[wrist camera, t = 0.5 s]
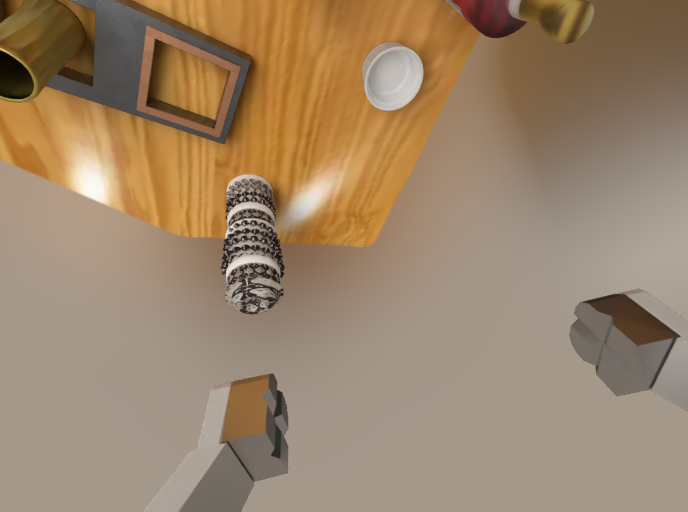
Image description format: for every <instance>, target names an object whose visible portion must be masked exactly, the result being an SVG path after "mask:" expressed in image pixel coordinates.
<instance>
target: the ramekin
mask: <svg viewBox="0 0 688 512" xmlns="http://www.w3.org/2000/svg"><path fill="white" fill-rule="evenodd" d="M361 74H362V82H363V85H364V88H365V93H366V96H367V98H368V100H369V102H370V103H371V104H372V105H373V106H374V107H376V108H378V109H380V110H384V111H392V110H397V109H400V108H402V107H404V106H405V105H407V104H408V103H409V102H410V101H411V100H412V99H413V98H414V97H415V96H416V95H417V93H418V91H419V89H420V87H421V84H422V81H423V74H424V71H423V64H422V61H421V59H420V57H419V56H418V55H417V53H415V52H414V51H413V50H412V49H410V48H407V47H405V46H404V45H402V44H400V43H397V42H392V41H391V42H384V43H381V44H379V45H377V46H376V47H375V48H373V49H372V50H371V51H370V52H369V54H368V55H367V56H366V58H365V60H364V63H363V66H362V73H361Z"/></svg>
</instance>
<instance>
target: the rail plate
mask: <svg viewBox="0 0 688 512" xmlns="http://www.w3.org/2000/svg"><path fill="white" fill-rule="evenodd" d="M70 1H72V2H74V3H76V4H79V5H81V6H83V7H86V8H88V9H90V10H93V11H95V12H96V16H95V44H94V73H93V77H91V76H88V75H86V74H83V73H80V72H77V71H74V70H71V69H69V68H66V67H62V69H61V70H60V71H59V72H58V73H57V74H56V75H55V76H54V77H53V78H52V79H51V80H50V81H49V82H48V84H47V85H46V86H47V87H50V88H54V89H57V90H60V91H63V92H66V93H69V94H72V95H75V96H78V97H81V98H84V99H87V100H90V101H93V102H96V103H99V104H102V105H106V106H109V107H112V108H115V109H118V110H121V111H124V112H127V113H130V114H133V115H136V116H139V117H142V118H145V119H148V120H151V121H154V122H158V123H161V124H164V125H167V126H170V127H173V128H176V129H179V130H182V131H185V132H188V133H191V134H194V135H197V136H200V137H203V138H206V139H210V140H213V141H216V142H219V143H222V144H225V142H226V139H227V136H228V132H229V129H230V126H231V123H232V120H233V116H234V113H235V110H236V107H237V103H238V100H239V97H240V94H241V91H242V87H243V84H244V81H245V78H246V75H247V71H248V68H249V65H250V55H248V54H246V53H244V52H242V51H240V50H238V49H236V48H233V47H231V46H229V45H227V44H225V43H223V42H220V41H218V40H216V39H214V38H212V37H210V36H208V35H205V34H203V33H201V32H199V31H197V30H195V29H192V28H190V27H188V26H186V25H184V24H182V23H179V22H177V21H175V20H173V19H171V18H169V17H167V16H164V15H162V14H160V13H158V12H156V11H154V10H151V9H149V8H147V7H145V6H143V5H141V4H138V3H136V2H134V1H132V0H70ZM4 20H5V14H4V5H3V0H0V23H1V22H3V21H4ZM157 39H158V40H160V41H162V42H165V43H167V44H169V45H172V46H174V47H176V48H179V49H181V50H183V51H186V52H188V53H190V54H193V55H195V56H197V57H200V58H202V59H204V60H207V61H209V62H211V63H214V64H216V65H218V66H220V67H223V68H225V69H227V70H229V72H228V76H227V80H226V83H225V87H224V90H223V94H222V98H221V101H220V105H219V108H218V112H217V116H216V119H215V120H212V119H210V118H207V117H204V116H201V115H198V114H195V113H193V112H190V111H187V110H184V109H181V108H179V107H176V106H173V105H170V104H167V103H164V102H162V101H159V100H156V99H153V98H150V97H149V93H150V86H151V79H152V72H153V65H154V58H155V51H156V44H157Z"/></svg>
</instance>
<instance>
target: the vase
mask: <svg viewBox="0 0 688 512" xmlns="http://www.w3.org/2000/svg"><path fill="white" fill-rule="evenodd" d="M84 42H85V35H84V31H83V28H82V26H81V24H80V22H79V21H78V19H77V18H76V17H75V15H74V14H73V13H72V12H71V11H70V10H69V9H68V8H66V7H65V6H64V5H62V4H61V3H59V2H58V1H55V0H24V1H23V3H22V4H21V6H20V8H19V9H18V10H17V11H16V12H15V13H14V14H12V15H11V16H9V17H8V18H7V19H5V20H4V21H3V22H1V23H0V99H2V100H5V101H9V102H18V103H21V102H28V101H30V100H31V99H33V98H35V97H37V96H38V94H39V93H40V92H41V91H42V89H43V88H44V87H45V86H46V85H47V84H48V82H49V81H50V80H51V79H52V78H53V77H54V76H55V75H56V74H57V73H58V72H59V71H60V70H61V69H62V67H63V66H64V65H65V64H66V62H67V61H68V60H69V59H71V58H72V57H73V56H74V55H75V54H77V53H79V52H80V51H81V50H82V49H83V46H84Z"/></svg>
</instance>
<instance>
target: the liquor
mask: <svg viewBox="0 0 688 512" xmlns="http://www.w3.org/2000/svg"><path fill="white" fill-rule="evenodd" d="M445 1H446V2H447V3H448V4H449V5H450V6H452V7H453V8H454V9H455V10H456V11H457V12H458V13H459V14H460V15H461V16H462V17H463V18H464V19H466V20H467V21H468V22H469V23H470V24H472V25H473V26H474V27H475V28H476V29H477V30H478V31H479V32H481V33H482V34H484V35H485V36H488V37H491V38H500V37H505V36H508V35H510V34H512V33H514V32H515V31H517V30H519V29H520V28H521V27H522V26H524V25H525V24H526V23H527V22H529V23H532V24H535V25H538V26H540V27H541V28H542V29H543V30H544V32H545V33H546V34H547V35H548V36H550V37H552V38H553V39H555V40H557V41H559V42H560V43H563V44H568V43H571V42H574V41H575V40H577V39H578V38H579V37H581V36H582V35H583V34H584V32H585V31H586V30H587V29H588V27H589V26H590V24H591V22H592V19H593V16H594V7H593V5H592V4H591V3H590V2H587V1H585V0H445Z"/></svg>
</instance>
